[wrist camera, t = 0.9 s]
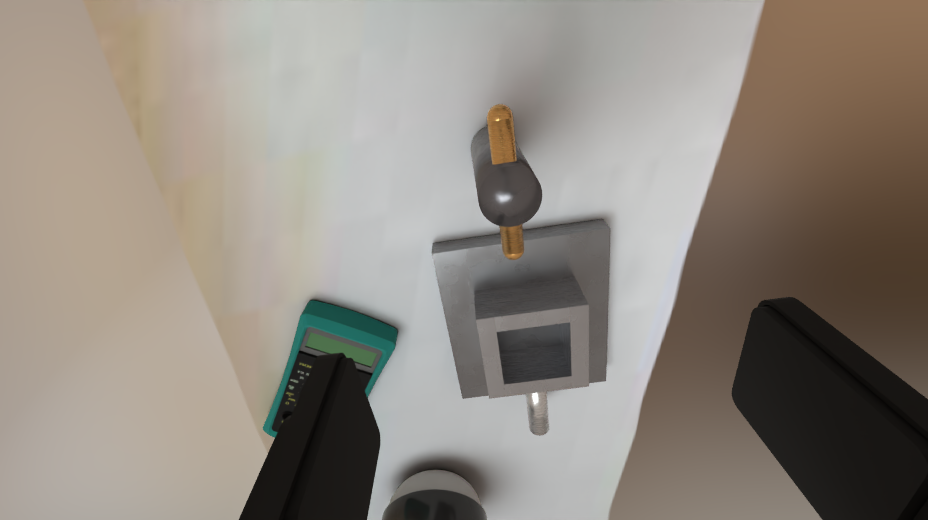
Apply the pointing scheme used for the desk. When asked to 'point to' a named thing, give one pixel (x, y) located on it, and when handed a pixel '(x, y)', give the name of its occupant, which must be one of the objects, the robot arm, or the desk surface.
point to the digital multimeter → (331, 352)
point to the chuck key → (504, 180)
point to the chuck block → (527, 312)
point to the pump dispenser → (435, 498)
